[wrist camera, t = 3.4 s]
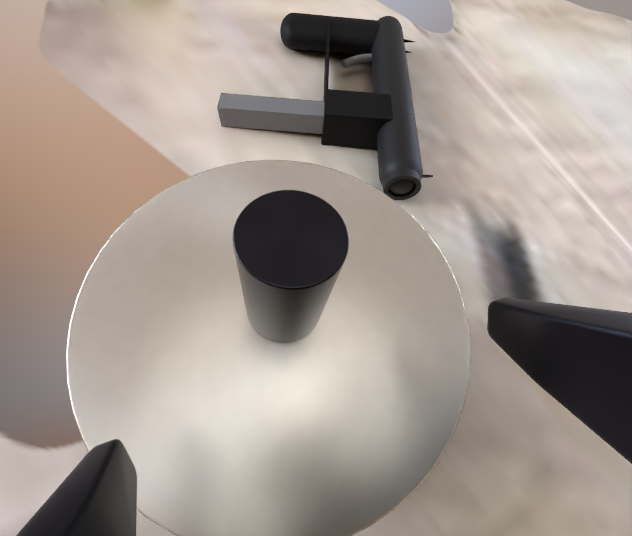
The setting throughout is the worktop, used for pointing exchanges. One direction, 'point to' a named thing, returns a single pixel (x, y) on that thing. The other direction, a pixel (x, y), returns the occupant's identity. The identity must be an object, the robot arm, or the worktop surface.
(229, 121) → the door handle
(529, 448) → the worktop surface
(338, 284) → the tin lid
